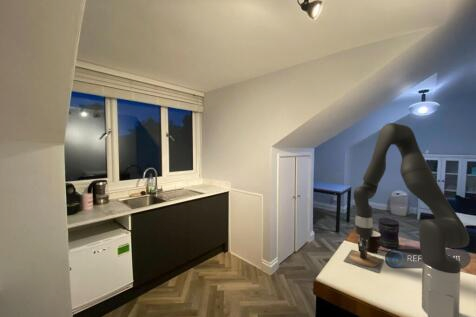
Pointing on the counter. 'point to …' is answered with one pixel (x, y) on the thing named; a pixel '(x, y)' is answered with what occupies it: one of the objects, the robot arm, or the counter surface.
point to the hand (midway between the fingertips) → (363, 257)
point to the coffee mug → (374, 242)
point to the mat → (374, 269)
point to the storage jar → (388, 233)
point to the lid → (368, 262)
